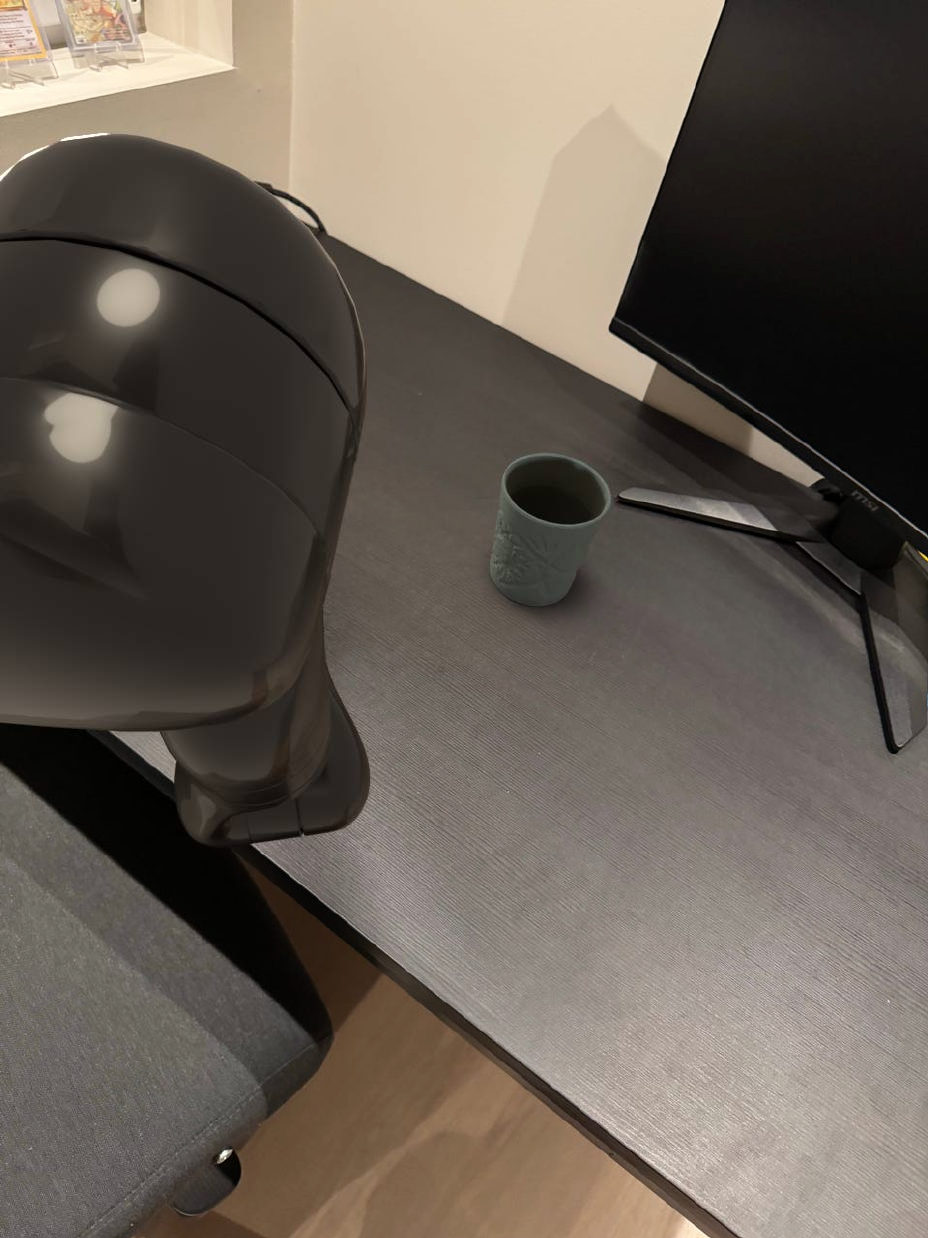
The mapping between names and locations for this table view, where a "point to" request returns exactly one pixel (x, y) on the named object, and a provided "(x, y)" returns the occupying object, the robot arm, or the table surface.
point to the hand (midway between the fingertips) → (251, 409)
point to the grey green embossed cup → (545, 526)
